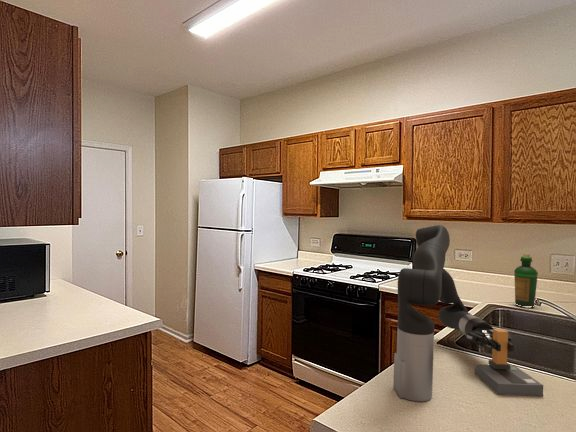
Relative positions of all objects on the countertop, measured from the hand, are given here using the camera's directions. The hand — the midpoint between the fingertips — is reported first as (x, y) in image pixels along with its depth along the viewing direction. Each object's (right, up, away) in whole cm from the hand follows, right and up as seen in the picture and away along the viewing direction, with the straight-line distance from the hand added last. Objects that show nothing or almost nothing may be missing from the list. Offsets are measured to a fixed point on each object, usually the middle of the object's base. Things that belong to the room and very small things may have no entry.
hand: (505, 348), depth 105 cm
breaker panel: (0, -10, -1) cm, 10 cm away
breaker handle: (0, -7, +3) cm, 7 cm away
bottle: (+64, -11, +90) cm, 111 cm away
